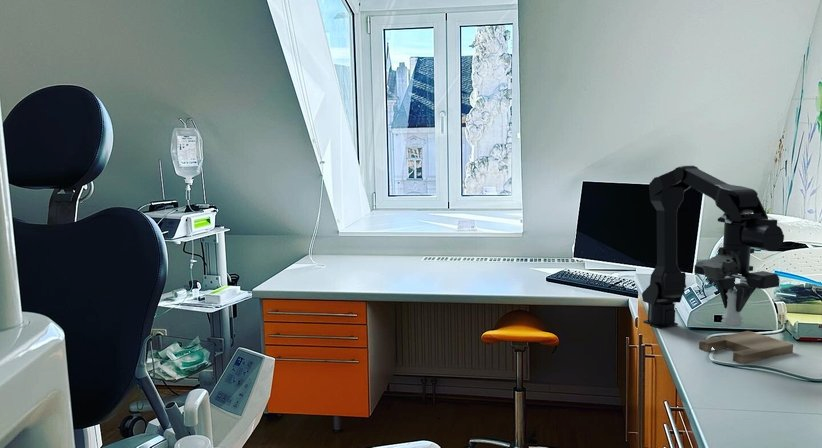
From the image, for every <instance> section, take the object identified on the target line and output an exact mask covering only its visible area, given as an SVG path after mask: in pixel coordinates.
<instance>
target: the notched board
mask: <svg viewBox="0 0 822 448" xmlns="http://www.w3.org/2000/svg"><path fill="white" fill-rule="evenodd" d="M698 341H699V343H698V350H701V351H704V352H708V353H709V352H712V351H711V348H712V347H713V348H714V349H715V350H714V351H718V350H722V349H728V350H731V351H733V352H732V361H733V362H736V363H738V364H742V365H745V364H749V363H753V362H758V361H761V360H766V359H767V360H768V359H770V358H775V357H779V356H784V355H788V354H791V353H792V354H793V352H794V344H793V343H791V342H787V341H783V340H779V339H777V338H773V337H770V336H767V335H763V334H761V333H756V332H754V331H752V330H751V331H750V330H745V331H740V332H735V333H731V334H726V335H721V336H715V337H711V338H706V339H701V340H698Z"/></svg>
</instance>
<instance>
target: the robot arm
mask: <svg viewBox="0 0 822 448" xmlns="http://www.w3.org/2000/svg"><path fill="white" fill-rule="evenodd" d="M691 188H692V189H694V190H696V191H698V192H700V193H701V194H703V195H705V196H707V197H708V198H710V199H712V200H714V202H715V207H717V208H718V209H720V210H721V211H722V212H723V214H722V215H720V216H719V217H718V218H717V222H719V223H723V224H724V225H723V243H722V246H721V247H718V250H717V254H716V256H713V257H711V258H709V259H707V260H706V259H705V260H700V261H697V262H696V263H695V265H694V271H693V273H694V274H697V275H702V276H704V277H706V278H708V280H709V281H712V282H713V283H714V284H715V285H716V286H717V289H718V291H719V294H720V297H721V301H722V303H723V308H724V309H726V308H727V302H728V301H727V299H728V296H727V295H726V293H727V292H728V289H732V291H733V290H734V289H736V291H737V298H736V311H737V312H740V313H741V312H742V310H743V309H744V307H745V306H746V304H747V302H748V301H749V299H750V297H751V296H752V294H753V293H754V292H755V291H756V290H757V289H759V290H767V289H773V288H777V287H780V277H779V276H778V274H777V273H774V272H769V271H764V270H762V271H754V266H753V265H750V264H751V263H750V262H751V260H750V259H751V254H754V253H755V249H759V250H763V251H767V252H776V251H778V250H779V249H780V248H781V247H782V245H783V243H784V240H785V235H784V232H783V230H782V228H781V227H780V226H779V225H778V219H775V218H770V219H769V216H768V215H767V211H766V210H765V208H764V207H763V204H762V202H761V200H760V198H759V196H758V195H759V194H758V192H757V191H756V190H755V189H753V188H749V187H746V186H742V185H741V186H740V185H735V184H729V183H726V182H725V181H723V180H720V179H719V178H717V177H715V176H712V175H711V174H709V173H707V172H705V171H704V170H701V169H699V167H698V166H695V165H680V166H677V167H675V168H674V169H673V170H671V171H669V172H666V173H663V174H661V175H659V176H656V177H653V178H652V180H651V181H650V182H649V185H648V192H649V200H650V202H651V205H652V206H653V207H654V209H655V210H656V266H655V267H654V269H653V270H652V273H651V274H650V278H649V279H650V280H649V285H648V286H647V287H646V289H644V290H643V291H642V293H641V297H642V302H644V303H647V304H648V305H647V306H648V308H647V319H646V320H645V319H644V320H643V323H644V324H645V325H649V326H653V327H655V328H657V329H658V328H659V329H666V328H670V327H671V328H672V327H676V326H679V323H678V322H675V321H676V309H675V305H676V303H679V304H680V303H681V301H682V298H683V296H684V293H685V290H686V288H687V284H686V277H687V275H686V272H683V271H682V270H680V268H679V266H678V209H680V206H681V204H682V202H683V201H684V194H685V192H686V191H688V190H689V189H691ZM752 271H754V272H752ZM736 279H740V280H739V283H736Z"/></svg>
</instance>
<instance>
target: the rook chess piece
mask: <svg viewBox="0 0 822 448" xmlns="http://www.w3.org/2000/svg"><path fill="white" fill-rule="evenodd" d="M726 295H727V296H728V299H727V301H728V302H727V308H725V309H726V310H725V311H724V313H723V315H721V318H722V319H721V322H722V324H723V325H726V326H731V327H740V326H741V325H742V324H743V316H741V312H737V311H736V298H737V290H736V288H734V289H733V291H732V289H728V292H727V293H726Z"/></svg>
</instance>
